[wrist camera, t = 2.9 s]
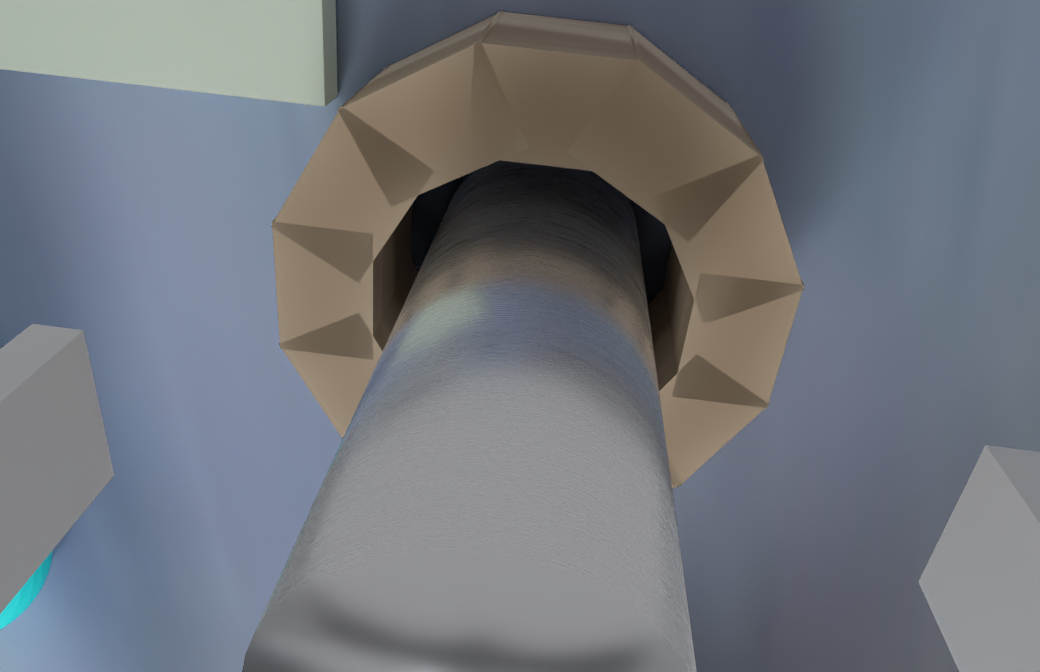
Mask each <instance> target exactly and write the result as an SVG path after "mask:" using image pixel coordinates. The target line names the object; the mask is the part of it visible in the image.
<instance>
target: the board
mask: <svg viewBox="0 0 1040 672" xmlns="http://www.w3.org/2000/svg"><path fill="white" fill-rule="evenodd" d="M0 69H5V70H13V71H22V72H30V73H39V74H48V75H56V76H65V77H74V78H82V79H91V80H100V81H108V82H117V83H126V84H134V85H143V86H152V87H160V88H169V89H178V90H186V91H195V92H204V93H212V94H221V95H229V96H238V97H247V98H255V99H264V100H273V101H281V102H290V103H299V104H307V105H316V106H326V105H327V104H329V103H330V102H331V101H332V100H334V99H335V98H336V97H337V96H338V88H337V39H336V0H0Z"/></svg>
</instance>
